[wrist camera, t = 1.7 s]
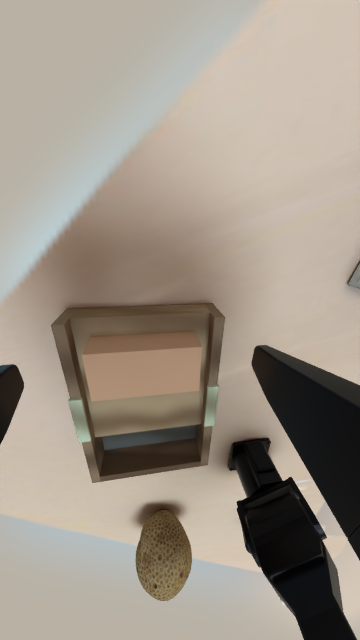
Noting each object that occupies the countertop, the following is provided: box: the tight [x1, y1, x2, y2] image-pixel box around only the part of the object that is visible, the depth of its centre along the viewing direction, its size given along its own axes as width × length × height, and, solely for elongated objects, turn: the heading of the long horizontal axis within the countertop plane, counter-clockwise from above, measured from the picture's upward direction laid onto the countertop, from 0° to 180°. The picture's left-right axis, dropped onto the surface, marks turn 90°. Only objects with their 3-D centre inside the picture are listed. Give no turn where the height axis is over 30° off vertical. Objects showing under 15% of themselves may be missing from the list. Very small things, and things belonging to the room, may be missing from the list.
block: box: [82, 331, 202, 402], centre depth 20 cm, size 5×10×3 cm, turn 89°
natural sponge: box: [136, 510, 192, 601], centre depth 34 cm, size 9×9×10 cm
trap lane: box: [51, 304, 225, 483], centre depth 24 cm, size 22×15×4 cm
